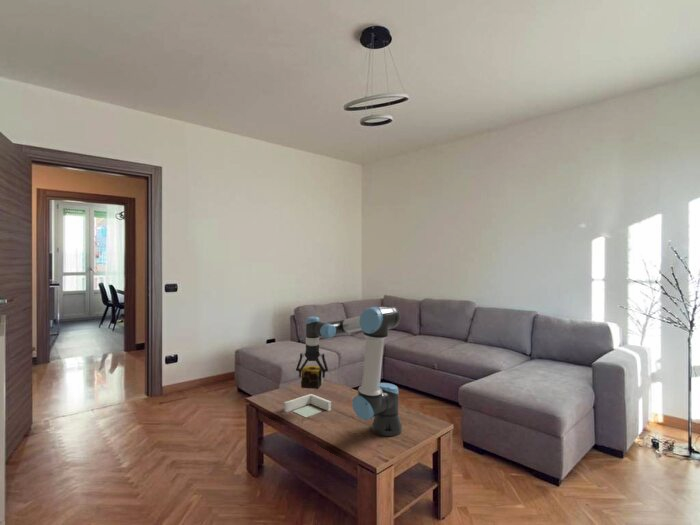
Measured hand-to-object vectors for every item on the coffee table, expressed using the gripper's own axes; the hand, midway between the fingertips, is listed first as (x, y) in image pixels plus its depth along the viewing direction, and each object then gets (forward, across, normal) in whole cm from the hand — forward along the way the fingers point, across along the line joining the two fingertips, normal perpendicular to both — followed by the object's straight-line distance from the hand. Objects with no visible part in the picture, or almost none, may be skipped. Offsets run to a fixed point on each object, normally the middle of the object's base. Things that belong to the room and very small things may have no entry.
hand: (311, 383), depth 216 cm
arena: (+17, +2, -2) cm, 17 cm away
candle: (+2, 0, 0) cm, 2 cm away
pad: (+17, +2, -2) cm, 17 cm away
